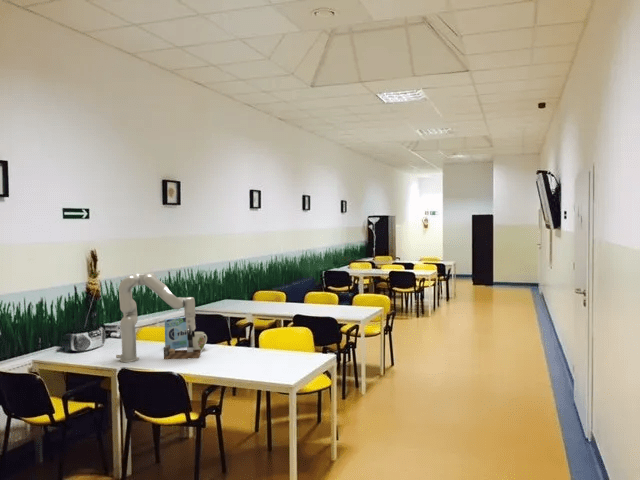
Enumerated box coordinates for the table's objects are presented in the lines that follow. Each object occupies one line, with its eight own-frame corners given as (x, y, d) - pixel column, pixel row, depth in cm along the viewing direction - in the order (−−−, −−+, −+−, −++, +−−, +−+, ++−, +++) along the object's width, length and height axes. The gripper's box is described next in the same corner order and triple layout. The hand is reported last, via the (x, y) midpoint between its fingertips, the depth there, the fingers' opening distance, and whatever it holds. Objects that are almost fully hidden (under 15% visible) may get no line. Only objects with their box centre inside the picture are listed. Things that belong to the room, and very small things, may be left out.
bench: (163, 359, 385) (163, 348, 384) (167, 356, 395) (166, 344, 394) (198, 358, 386) (198, 347, 386) (200, 354, 396) (200, 343, 396)
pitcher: (212, 348, 415) (211, 330, 415) (195, 353, 400) (194, 334, 400) (201, 347, 421) (201, 329, 421) (184, 352, 406) (183, 333, 405)
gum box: (167, 350, 413) (166, 320, 412) (164, 349, 417) (164, 319, 416) (191, 346, 425) (190, 316, 424) (189, 345, 429) (188, 316, 428)
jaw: (187, 354, 387) (186, 336, 386) (189, 352, 394) (188, 334, 393) (192, 354, 387) (192, 336, 387) (194, 352, 394) (194, 334, 394)
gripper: (193, 316, 381) (194, 340, 382) (197, 312, 398) (198, 335, 399) (182, 317, 381) (183, 341, 381) (186, 312, 398) (188, 336, 399)
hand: (191, 338), depth 390 cm, fingers open, 9 cm apart
